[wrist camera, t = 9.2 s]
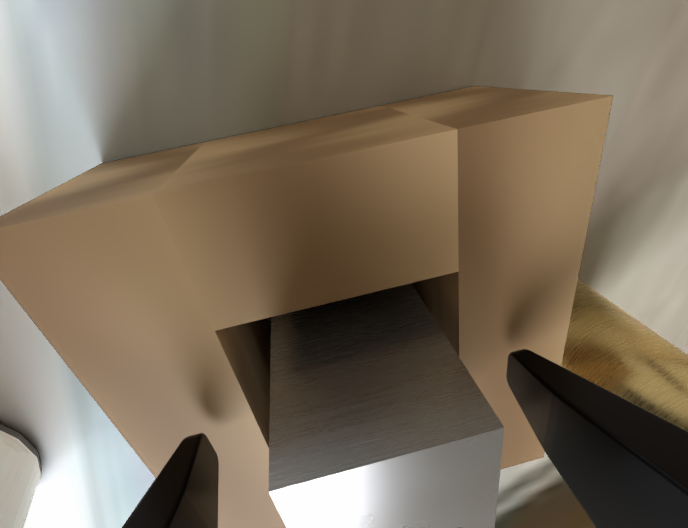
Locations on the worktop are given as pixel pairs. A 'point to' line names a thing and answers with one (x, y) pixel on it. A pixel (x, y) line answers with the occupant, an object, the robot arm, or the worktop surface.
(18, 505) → the cup
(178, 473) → the robot arm
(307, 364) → the square bit
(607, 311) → the round dowel
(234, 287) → the socket block
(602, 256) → the worktop surface
